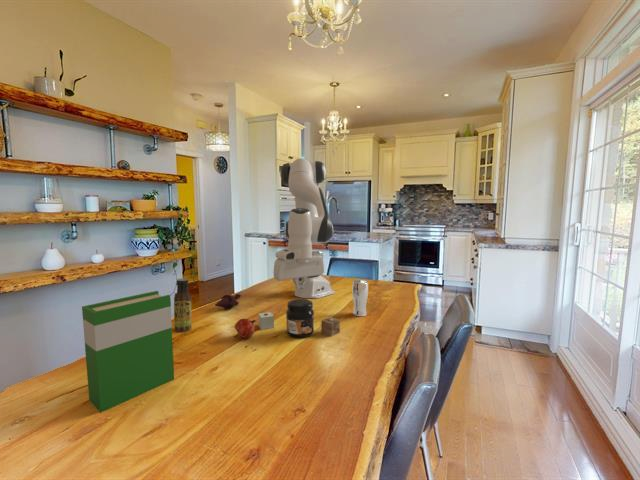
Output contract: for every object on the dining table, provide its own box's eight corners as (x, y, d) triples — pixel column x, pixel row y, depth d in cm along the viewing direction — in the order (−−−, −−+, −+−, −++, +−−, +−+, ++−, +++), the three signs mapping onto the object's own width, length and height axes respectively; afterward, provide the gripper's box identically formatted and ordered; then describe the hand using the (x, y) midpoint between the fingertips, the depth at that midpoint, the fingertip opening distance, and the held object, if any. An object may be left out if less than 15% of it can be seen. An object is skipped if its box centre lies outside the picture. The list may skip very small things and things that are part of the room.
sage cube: (270, 323, 128) (270, 311, 128) (274, 328, 124) (273, 315, 123) (258, 325, 126) (258, 313, 126) (261, 330, 122) (261, 317, 121)
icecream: (222, 301, 137) (246, 295, 150) (211, 294, 140) (235, 289, 153) (219, 315, 138) (243, 309, 151) (208, 308, 141) (232, 302, 154)
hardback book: (160, 370, 91) (156, 290, 89) (174, 379, 87) (170, 295, 84) (89, 400, 77) (81, 306, 75) (100, 412, 73) (93, 313, 70)
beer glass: (367, 311, 143) (368, 279, 142) (368, 317, 136) (368, 283, 135) (351, 311, 144) (352, 279, 142) (352, 316, 137) (352, 283, 135)
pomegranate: (236, 348, 111) (258, 332, 110) (223, 331, 111) (246, 315, 110) (242, 341, 118) (263, 326, 118) (231, 326, 118) (251, 310, 118)
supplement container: (288, 340, 112) (288, 308, 111) (284, 329, 123) (284, 299, 121) (317, 337, 115) (317, 305, 114) (310, 326, 125) (310, 297, 124)
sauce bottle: (173, 333, 117) (170, 281, 115) (175, 327, 123) (173, 278, 121) (191, 331, 119) (189, 280, 117) (193, 325, 125) (191, 277, 123)
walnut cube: (329, 329, 123) (329, 316, 123) (339, 332, 120) (339, 319, 119) (321, 333, 119) (321, 319, 119) (331, 336, 116) (331, 323, 116)
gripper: (318, 249, 124) (318, 283, 125) (271, 253, 112) (271, 290, 114) (327, 251, 119) (327, 287, 120) (279, 255, 107) (279, 295, 109)
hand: (299, 289), depth 117 cm, fingers closed
